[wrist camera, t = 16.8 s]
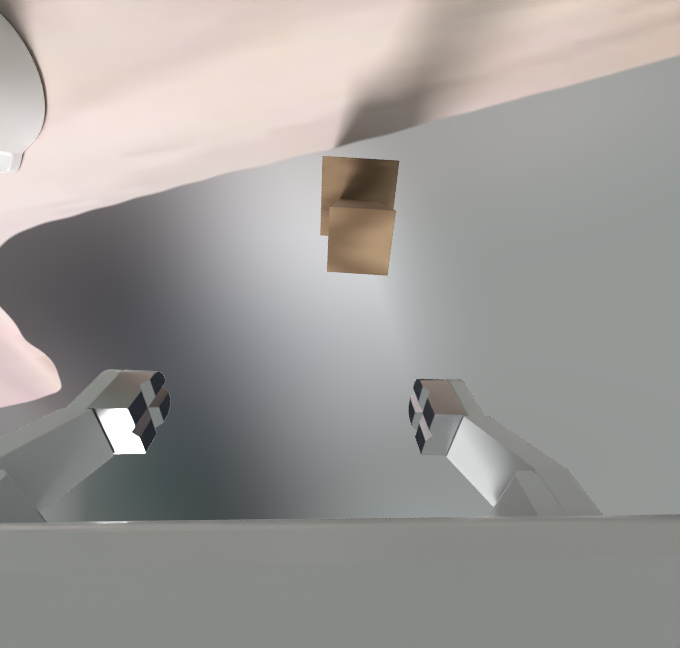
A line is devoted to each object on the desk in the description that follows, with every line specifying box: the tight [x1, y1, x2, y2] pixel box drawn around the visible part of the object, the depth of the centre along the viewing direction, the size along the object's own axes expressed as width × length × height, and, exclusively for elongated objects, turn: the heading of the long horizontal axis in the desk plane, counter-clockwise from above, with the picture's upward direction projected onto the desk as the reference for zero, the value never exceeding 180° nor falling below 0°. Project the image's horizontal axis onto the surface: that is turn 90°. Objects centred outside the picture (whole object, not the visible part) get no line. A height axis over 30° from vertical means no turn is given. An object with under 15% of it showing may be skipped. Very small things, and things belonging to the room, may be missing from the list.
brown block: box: [321, 156, 399, 275], centre depth 25 cm, size 7×22×7 cm
